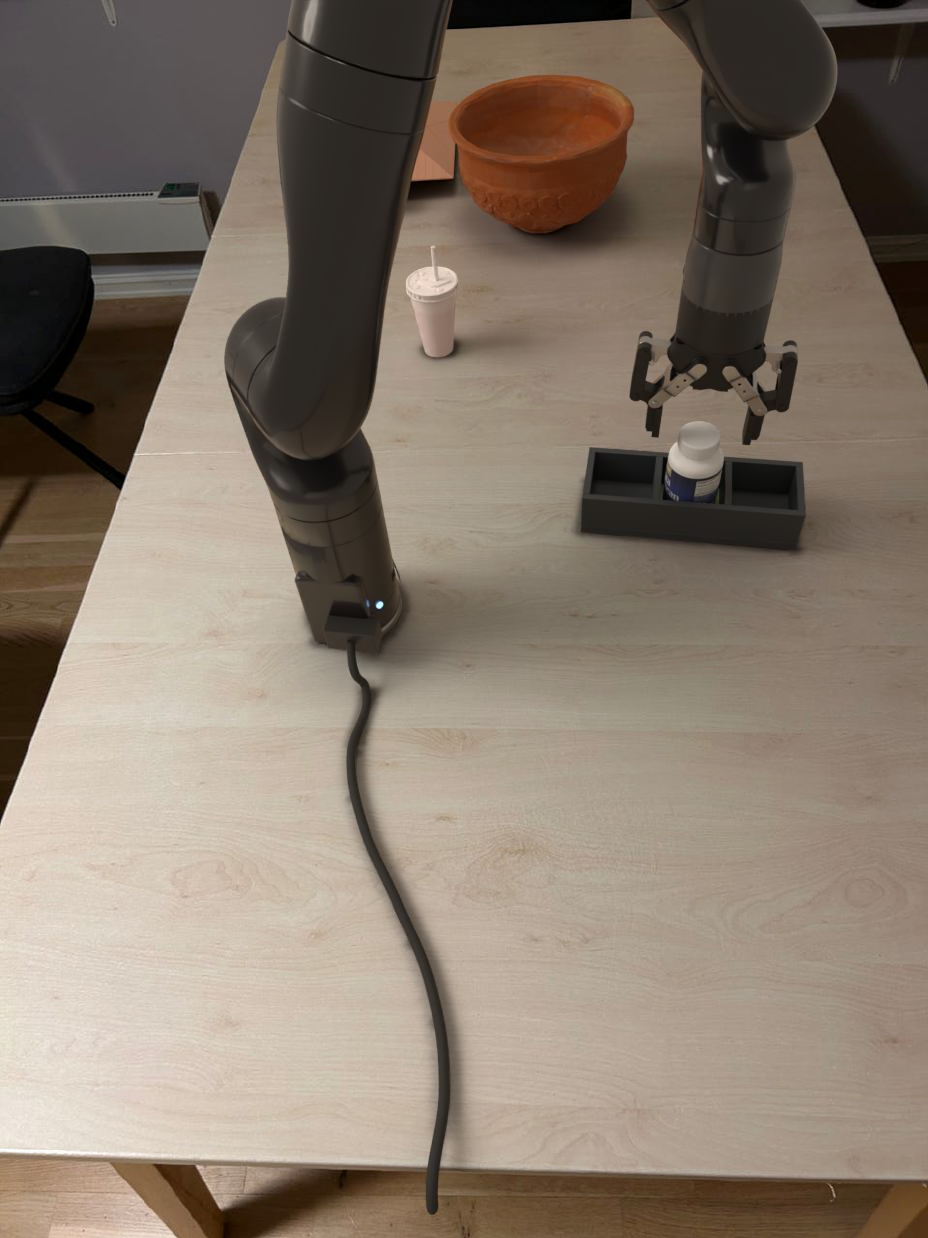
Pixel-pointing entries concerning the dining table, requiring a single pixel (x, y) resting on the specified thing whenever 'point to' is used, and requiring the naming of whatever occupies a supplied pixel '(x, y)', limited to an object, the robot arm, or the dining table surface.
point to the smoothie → (434, 306)
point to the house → (436, 145)
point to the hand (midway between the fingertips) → (700, 435)
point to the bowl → (542, 148)
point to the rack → (742, 514)
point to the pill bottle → (694, 464)
